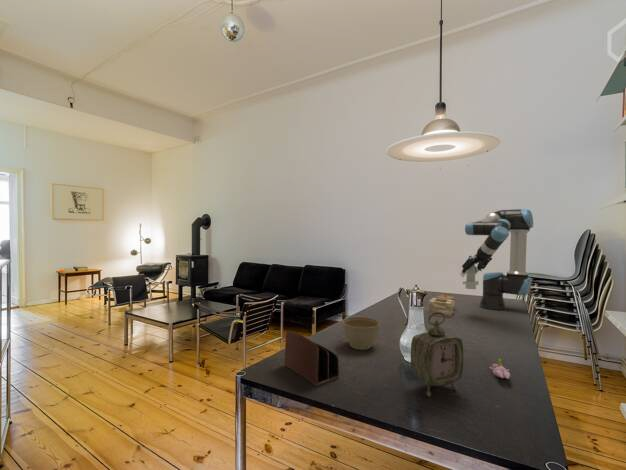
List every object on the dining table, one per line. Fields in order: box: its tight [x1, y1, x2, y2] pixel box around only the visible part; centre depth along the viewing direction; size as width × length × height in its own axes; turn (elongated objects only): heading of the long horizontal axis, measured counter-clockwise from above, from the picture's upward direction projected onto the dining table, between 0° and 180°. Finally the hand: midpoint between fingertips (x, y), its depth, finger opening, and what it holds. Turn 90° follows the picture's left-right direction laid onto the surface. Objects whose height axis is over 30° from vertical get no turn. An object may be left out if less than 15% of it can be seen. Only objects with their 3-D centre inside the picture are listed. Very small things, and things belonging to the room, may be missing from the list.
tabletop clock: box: [410, 312, 464, 397], centre depth 102 cm, size 14×9×25 cm, turn 114°
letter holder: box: [284, 331, 340, 386], centre depth 114 cm, size 10×20×14 cm, turn 37°
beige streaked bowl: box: [428, 297, 454, 318], centre depth 195 cm, size 12×12×8 cm
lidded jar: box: [436, 294, 455, 307], centre depth 207 cm, size 11×11×9 cm
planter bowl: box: [342, 316, 381, 351], centre depth 140 cm, size 16×16×11 cm
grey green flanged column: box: [462, 264, 479, 290], centre depth 189 cm, size 8×8×14 cm
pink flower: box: [488, 358, 511, 380], centre depth 112 cm, size 6×6×15 cm
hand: (466, 275), depth 192 cm, fingers closed on grey green flanged column, 6 cm apart
